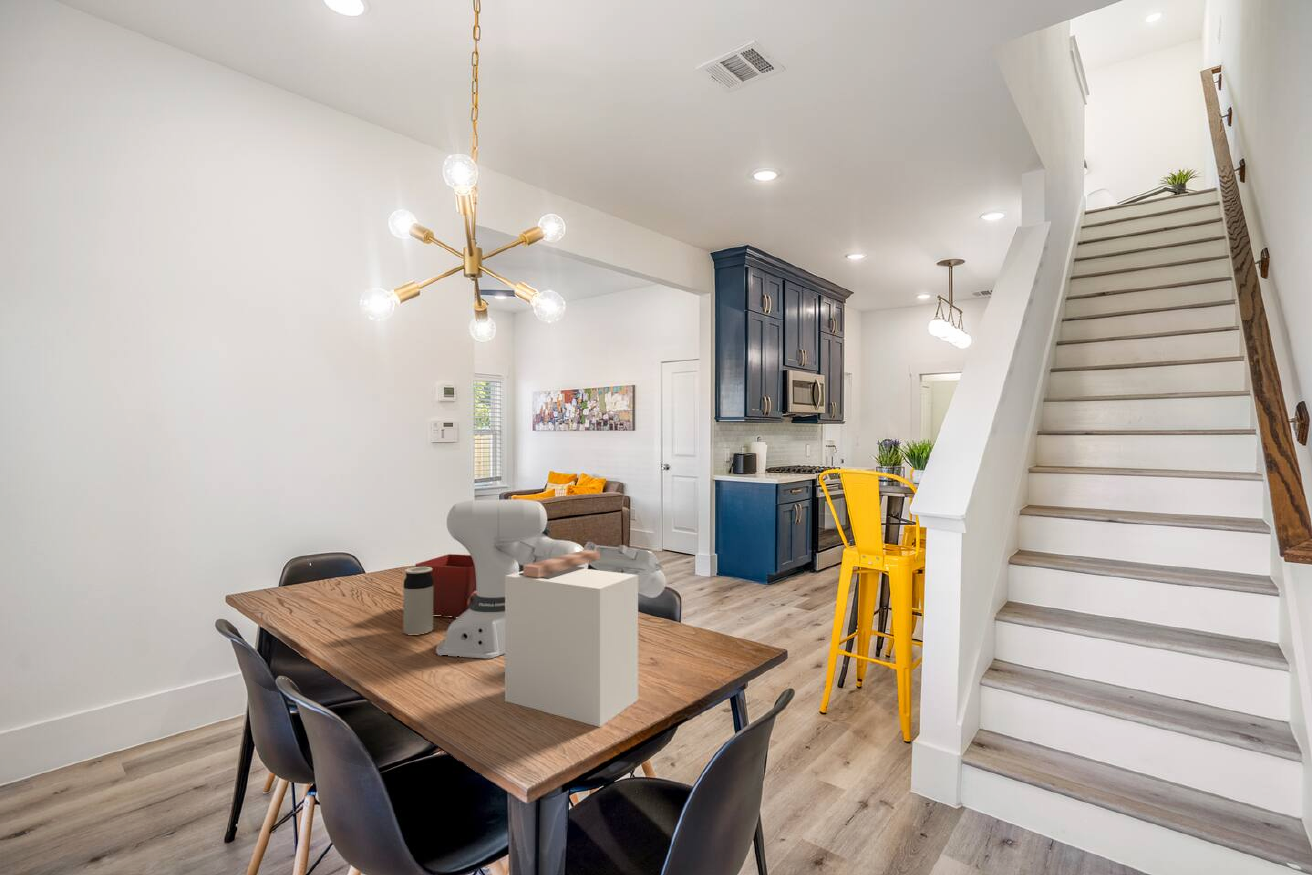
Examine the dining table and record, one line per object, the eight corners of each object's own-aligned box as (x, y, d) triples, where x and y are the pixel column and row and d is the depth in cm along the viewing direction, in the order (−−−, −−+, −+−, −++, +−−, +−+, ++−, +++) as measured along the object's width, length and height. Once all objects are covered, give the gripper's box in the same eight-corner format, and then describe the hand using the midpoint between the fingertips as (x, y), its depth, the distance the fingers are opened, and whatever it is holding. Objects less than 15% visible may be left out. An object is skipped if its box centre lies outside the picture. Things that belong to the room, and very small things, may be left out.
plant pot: (499, 606, 198) (499, 555, 198) (469, 623, 179) (469, 567, 180) (448, 603, 202) (448, 553, 203) (413, 619, 184) (413, 564, 184)
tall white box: (548, 678, 136) (548, 562, 137) (638, 699, 125) (637, 573, 125) (505, 700, 124) (505, 574, 125) (600, 726, 112) (599, 587, 113)
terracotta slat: (586, 558, 143) (586, 549, 143) (599, 559, 141) (599, 551, 141) (523, 575, 124) (523, 565, 124) (538, 577, 122) (538, 567, 122)
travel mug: (438, 628, 174) (438, 566, 175) (424, 636, 166) (425, 572, 167) (412, 627, 175) (412, 566, 175) (397, 636, 167) (398, 571, 167)
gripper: (662, 582, 149) (637, 562, 139) (595, 573, 159) (567, 554, 149) (668, 558, 152) (644, 537, 142) (602, 551, 162) (575, 531, 152)
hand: (604, 546), depth 145 cm, fingers open, 8 cm apart
